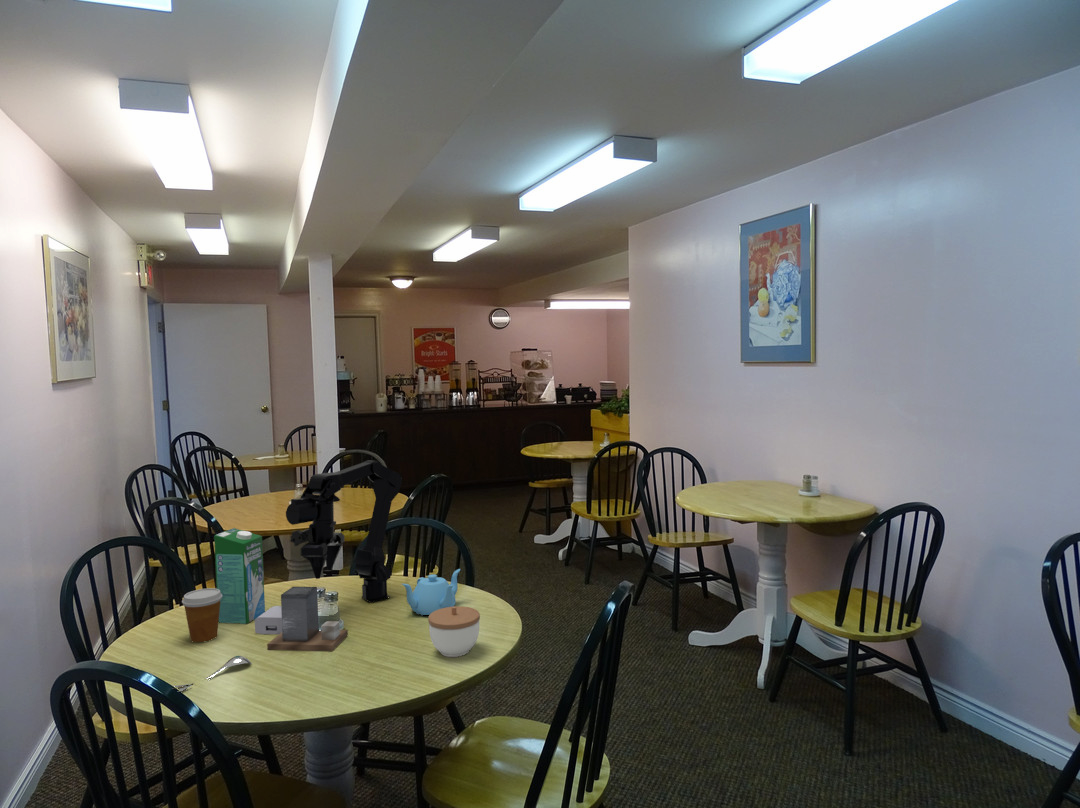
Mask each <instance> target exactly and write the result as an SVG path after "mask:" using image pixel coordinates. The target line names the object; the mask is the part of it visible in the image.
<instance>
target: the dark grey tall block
mask: <svg viewBox="0 0 1080 808" xmlns="http://www.w3.org/2000/svg"><path fill="white" fill-rule="evenodd" d="M318 602H319V601H318V586H292V587H290V588H289V589H287V590H285V592H283V593H281V594H280V604H281V605H280V606H281V611H282V637H283V641H285V642H308V641H309V640H310V639H311V638H313V637H314V636H315V635H316V634H317V633H318V632H319V629H320V628H319V603H318Z"/></svg>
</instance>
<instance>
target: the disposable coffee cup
mask: <svg viewBox="0 0 1080 808" xmlns="http://www.w3.org/2000/svg"><path fill="white" fill-rule="evenodd" d="M221 598H222V594H221V592H220V590H219V589H217V588H215V587H214V588H212V587H211V588H200V589H196V590H192V591H188V592H187V593H185V594H184V595H183V599H182V600H181V603H182V605H183V606H184V611H185V612H184V613H185V616H186V622H187V627H188V632H189V638H190V642H192V641H193V642H192V643H195V642H202V643H205V642H204V641H207V642H210V641H212V640H211V639H213V638H215V637H216V638H217V637H218V633H219V630H218V629H219V623H218V622H219V612H220V601H221ZM216 638H215V639H216ZM209 640H210V641H209ZM213 640H214V639H213Z"/></svg>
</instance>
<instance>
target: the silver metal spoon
mask: <svg viewBox="0 0 1080 808" xmlns="http://www.w3.org/2000/svg"><path fill="white" fill-rule="evenodd" d="M249 663H250V664H249ZM242 664H243V665H245V664H249V665H252V664H253V663H252V662H251V661H250V659H248V658H247V657H244V656H242V655H235V656H233V657H231V658H229V660H228V661H226V662H225V664H223V665H222V666H221V667H219V669H217V670H216V671H214V672H213V673H211V674H210V675H208V676H207V677H206V679H208V678H211V677H212V678H213V677H215V676H216V675H217V674H219V673H220V672H222V671H224V670H226V669H228V668H231V667H234V666H239V665H242ZM212 678H211V679H212ZM193 683H194V682H192V683H191V684H193ZM189 684H190V683H188V684H180V685H173V686H174V687H176V688H175V689H177V688H178V689H179V690H180V691H179V692H182V691H183V690H185V691H187V690H186V689H187V688H188V687H190V686H192V685H189ZM186 685H188V686H186ZM182 686H183V687H182ZM183 692H184V691H183Z"/></svg>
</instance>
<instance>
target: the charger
mask: <svg viewBox="0 0 1080 808" xmlns="http://www.w3.org/2000/svg"><path fill="white" fill-rule="evenodd" d="M281 632H282V611H281V605H274V606H271V607H270V608H268V609H267V610H265V612H264V613H263V614H261V615H260V616H259V617H257V618H256V619H254V633H255V634H257V633H259V634H258V635H279V634H280V633H281Z"/></svg>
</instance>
